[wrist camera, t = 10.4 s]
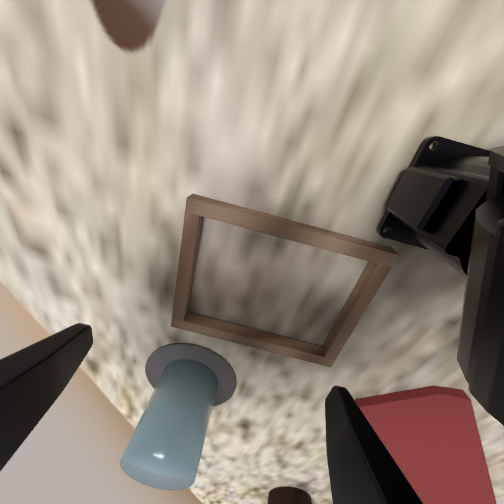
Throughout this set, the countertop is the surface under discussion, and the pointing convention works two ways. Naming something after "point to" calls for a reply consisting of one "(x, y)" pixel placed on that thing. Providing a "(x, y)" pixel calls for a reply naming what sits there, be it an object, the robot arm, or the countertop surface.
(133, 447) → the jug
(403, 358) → the countertop surface
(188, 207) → the brown wooden frame
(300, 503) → the coffee mug
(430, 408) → the carton
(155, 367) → the coaster
